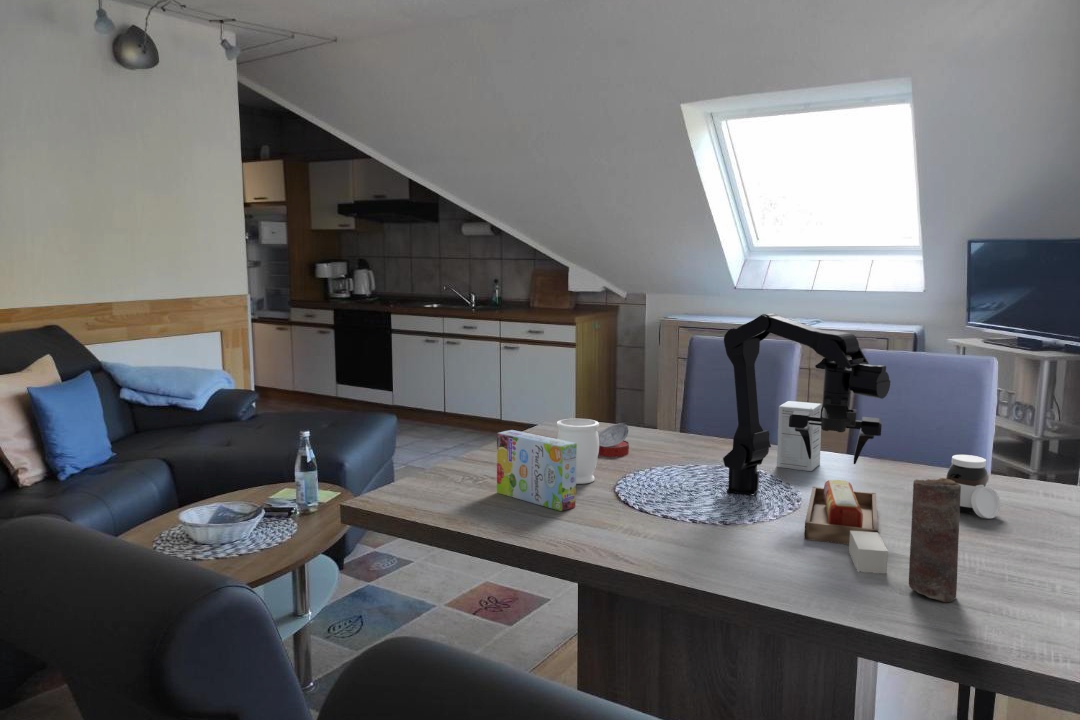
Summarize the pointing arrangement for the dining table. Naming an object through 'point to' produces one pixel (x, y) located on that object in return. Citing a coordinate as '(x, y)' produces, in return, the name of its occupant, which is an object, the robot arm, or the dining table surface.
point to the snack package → (842, 504)
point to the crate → (826, 532)
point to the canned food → (614, 441)
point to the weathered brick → (935, 538)
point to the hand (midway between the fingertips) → (832, 461)
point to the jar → (582, 445)
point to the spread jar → (974, 486)
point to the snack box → (537, 469)
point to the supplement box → (797, 438)
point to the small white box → (868, 552)
